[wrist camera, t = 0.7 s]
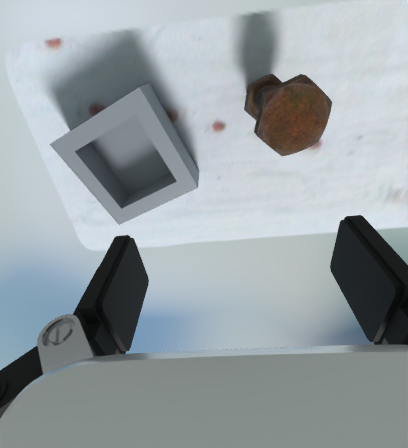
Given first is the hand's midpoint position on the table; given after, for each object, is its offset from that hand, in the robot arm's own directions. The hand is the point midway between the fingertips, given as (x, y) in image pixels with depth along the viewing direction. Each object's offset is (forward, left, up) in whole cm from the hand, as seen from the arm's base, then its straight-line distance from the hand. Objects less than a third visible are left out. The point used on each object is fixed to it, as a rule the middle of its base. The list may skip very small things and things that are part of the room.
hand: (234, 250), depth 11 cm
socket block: (+12, -2, -26) cm, 28 cm away
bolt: (-6, -1, -26) cm, 27 cm away
